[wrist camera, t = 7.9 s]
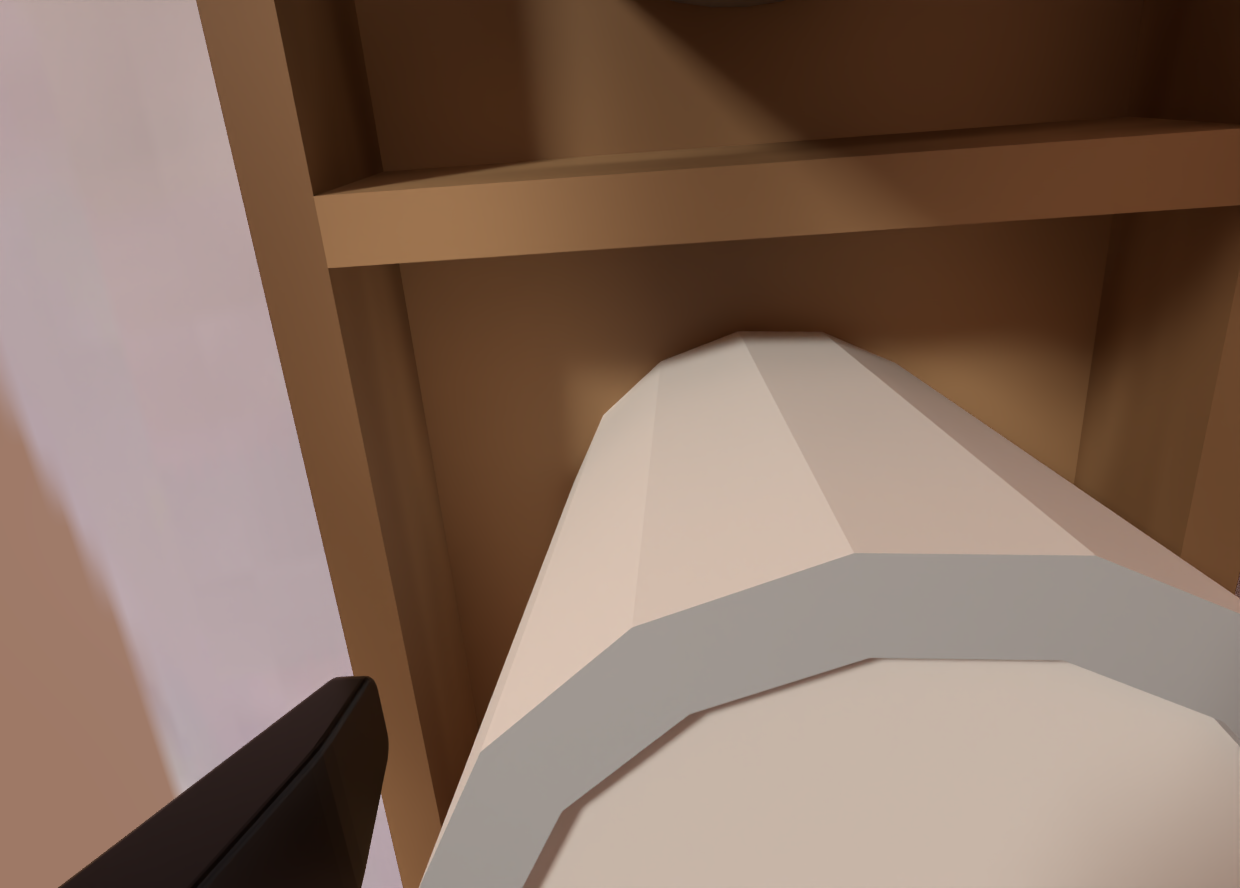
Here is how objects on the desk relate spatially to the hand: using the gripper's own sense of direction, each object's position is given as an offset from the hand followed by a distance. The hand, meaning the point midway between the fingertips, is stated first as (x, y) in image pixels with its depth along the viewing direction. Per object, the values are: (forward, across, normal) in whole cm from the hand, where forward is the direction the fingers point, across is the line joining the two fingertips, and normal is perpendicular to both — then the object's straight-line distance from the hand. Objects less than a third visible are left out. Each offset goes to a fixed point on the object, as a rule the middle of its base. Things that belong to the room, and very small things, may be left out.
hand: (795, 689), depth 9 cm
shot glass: (+4, 0, 0) cm, 4 cm away
